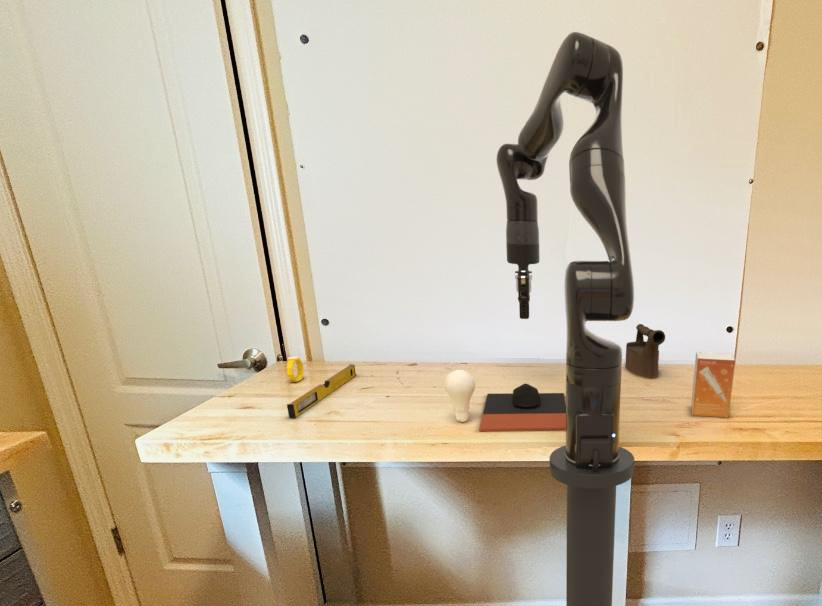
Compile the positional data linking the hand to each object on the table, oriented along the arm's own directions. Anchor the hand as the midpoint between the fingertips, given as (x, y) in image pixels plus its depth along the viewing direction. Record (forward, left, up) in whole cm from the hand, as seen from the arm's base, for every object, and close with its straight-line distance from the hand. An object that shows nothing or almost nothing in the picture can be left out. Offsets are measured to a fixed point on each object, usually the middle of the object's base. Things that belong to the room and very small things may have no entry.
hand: (524, 316), depth 145 cm
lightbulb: (-26, +13, -18) cm, 34 cm away
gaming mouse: (-13, 0, -17) cm, 21 cm away
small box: (-22, -41, -18) cm, 50 cm away
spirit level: (-6, +46, -18) cm, 50 cm away
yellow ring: (+6, +57, -18) cm, 60 cm away
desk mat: (-20, 0, -17) cm, 26 cm away
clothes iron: (+12, -32, -18) cm, 38 cm away
